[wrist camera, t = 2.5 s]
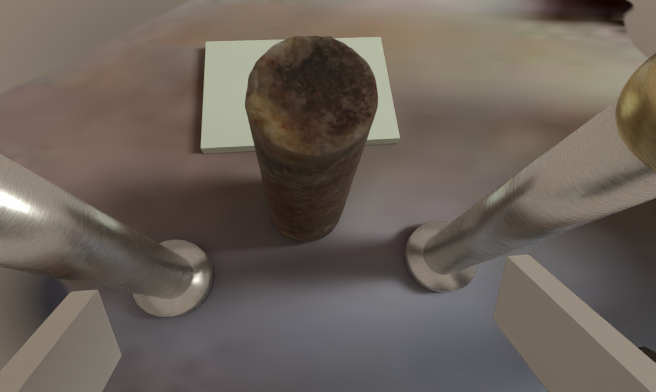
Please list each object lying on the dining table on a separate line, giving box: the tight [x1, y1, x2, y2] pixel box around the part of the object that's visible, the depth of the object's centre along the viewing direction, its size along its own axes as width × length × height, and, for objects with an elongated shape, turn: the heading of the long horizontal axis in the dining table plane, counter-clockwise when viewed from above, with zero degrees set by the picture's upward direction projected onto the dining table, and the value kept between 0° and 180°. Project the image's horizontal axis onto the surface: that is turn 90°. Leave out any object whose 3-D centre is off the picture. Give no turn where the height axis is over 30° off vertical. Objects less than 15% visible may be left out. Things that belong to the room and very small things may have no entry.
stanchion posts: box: [0, 53, 656, 317], centre depth 21 cm, size 7×33×28 cm, turn 95°
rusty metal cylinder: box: [245, 36, 378, 242], centre depth 27 cm, size 8×7×20 cm
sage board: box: [201, 37, 400, 154], centre depth 41 cm, size 15×22×1 cm
